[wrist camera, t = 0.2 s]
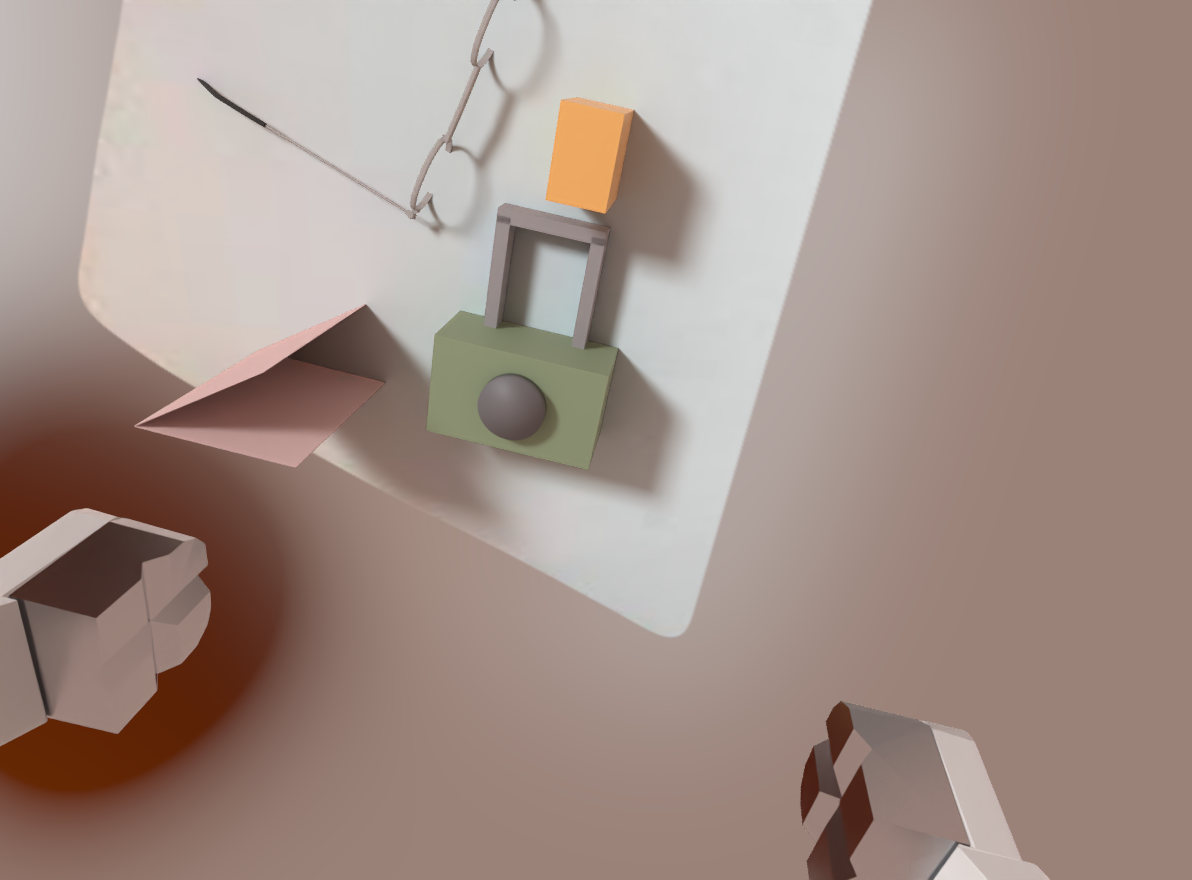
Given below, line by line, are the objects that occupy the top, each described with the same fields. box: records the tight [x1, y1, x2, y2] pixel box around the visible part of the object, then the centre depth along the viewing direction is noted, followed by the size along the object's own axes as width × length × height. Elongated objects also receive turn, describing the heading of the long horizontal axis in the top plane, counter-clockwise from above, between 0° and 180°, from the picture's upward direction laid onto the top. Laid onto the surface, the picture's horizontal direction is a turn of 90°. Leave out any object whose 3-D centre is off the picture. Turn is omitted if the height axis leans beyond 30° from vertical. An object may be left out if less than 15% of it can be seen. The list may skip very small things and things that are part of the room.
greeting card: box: [134, 304, 385, 468], centre depth 54 cm, size 11×7×15 cm, turn 79°
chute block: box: [546, 97, 634, 213], centre depth 48 cm, size 6×4×6 cm, turn 169°
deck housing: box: [426, 203, 618, 470], centre depth 54 cm, size 17×13×7 cm
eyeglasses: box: [197, 0, 515, 219], centre depth 48 cm, size 18×19×4 cm
